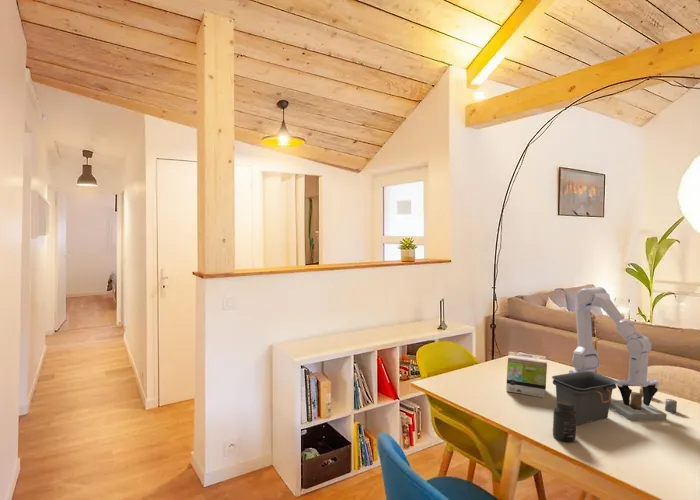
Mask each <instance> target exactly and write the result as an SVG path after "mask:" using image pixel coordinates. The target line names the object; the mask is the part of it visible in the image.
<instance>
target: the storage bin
mask: <svg viewBox="0 0 700 500" xmlns="http://www.w3.org/2000/svg"><path fill="white" fill-rule="evenodd" d="M551 379H553V380H552V384H553V385H554V386H555V394H556V395H555V396H556V398H555V399H556V401H555V402H556V403H557V402H558V400H568V401H570V402H572V403H573V404H574V410H573V411H574V412H575V413H576V415H577V422H576V426H577V425H582V424H586V423H590V422H595V421H600V420H604V419H607V418H608V417H609V411H610V408H611V407H610V401H611V400H612V393H613V390H615V389H617V385H616V383H618V381H617V379H614V378H611V377H608V376H606V375H603V374H600V373H598V372H596V371H595V372H590V371H582V372H575V373H569V372H568V373H563V374H557V375H553V376H551ZM556 408H558V407H557V406H556Z"/></svg>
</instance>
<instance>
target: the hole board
mask: <svg viewBox="0 0 700 500" xmlns="http://www.w3.org/2000/svg"><path fill="white" fill-rule="evenodd" d="M630 405H631V399H630V402H629V406H626V405H625V404H623V399H618V400H616V399H611V401H610V407H609V408H611V409H612V410H614V411H615V412H617V414H619V415H621V416H622V417H624V418H625V419H626V420H627V421H628V420H638V421H639V420H646V421H647V420H648V421H649V420H652V421H653V420H654V421H655V420H665V421H666V420H667V415H668V414H667V413H665V412H664V411H662V410H660V409H659V408H657V407H656V406H654V405H652V404H651V403H650V404H649V406H647V405H645V404H644V403H643V399H642V405H641V410H634V409H632V408H631V407H630Z"/></svg>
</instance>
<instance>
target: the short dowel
mask: <svg viewBox="0 0 700 500" xmlns="http://www.w3.org/2000/svg"><path fill="white" fill-rule="evenodd" d="M664 406H665V407H664V411H665V412H667V413H670V414H677V407H678V401H676V400H675V399H672V398H666V399H665V404H664Z"/></svg>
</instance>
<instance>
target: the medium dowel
mask: <svg viewBox="0 0 700 500" xmlns="http://www.w3.org/2000/svg"><path fill="white" fill-rule="evenodd" d="M639 393H640V394H642V398H643V388H642V386H639Z"/></svg>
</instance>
